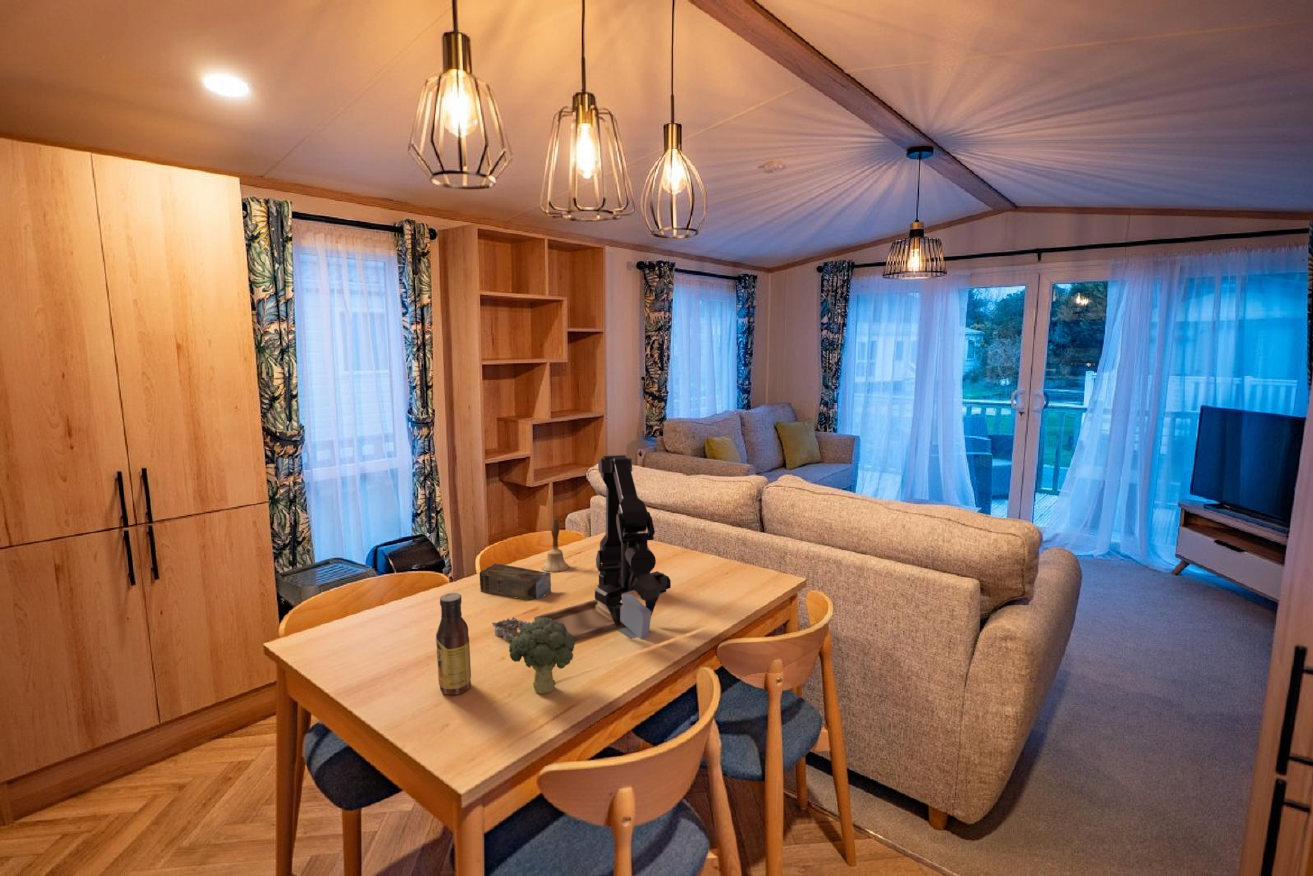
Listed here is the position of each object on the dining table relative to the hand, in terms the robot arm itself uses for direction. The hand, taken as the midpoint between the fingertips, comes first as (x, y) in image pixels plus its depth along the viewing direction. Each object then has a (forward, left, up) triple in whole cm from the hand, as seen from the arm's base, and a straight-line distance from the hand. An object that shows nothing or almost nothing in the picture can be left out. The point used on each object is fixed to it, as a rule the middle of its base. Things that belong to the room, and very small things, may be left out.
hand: (633, 621), depth 148 cm
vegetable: (+29, +9, -3) cm, 31 cm away
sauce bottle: (+43, -2, -3) cm, 43 cm away
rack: (+7, -12, -3) cm, 14 cm away
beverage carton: (+12, -41, -3) cm, 43 cm away
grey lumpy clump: (+24, -15, -3) cm, 28 cm away
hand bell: (-6, -52, -3) cm, 52 cm away
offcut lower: (0, -12, -2) cm, 12 cm away
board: (0, 0, -2) cm, 2 cm away
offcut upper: (0, -12, -1) cm, 12 cm away
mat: (0, 0, -3) cm, 3 cm away
